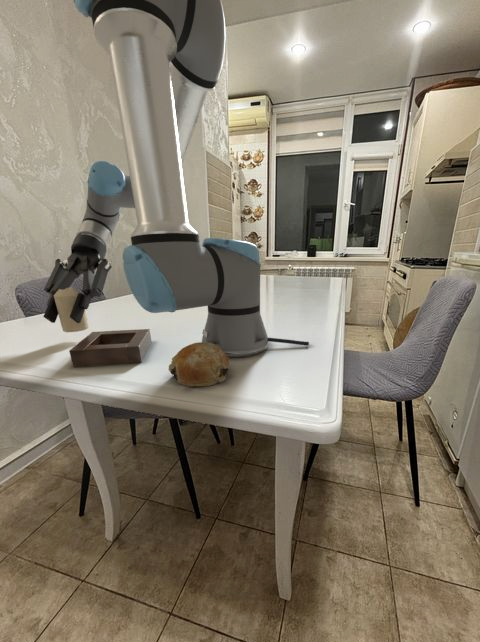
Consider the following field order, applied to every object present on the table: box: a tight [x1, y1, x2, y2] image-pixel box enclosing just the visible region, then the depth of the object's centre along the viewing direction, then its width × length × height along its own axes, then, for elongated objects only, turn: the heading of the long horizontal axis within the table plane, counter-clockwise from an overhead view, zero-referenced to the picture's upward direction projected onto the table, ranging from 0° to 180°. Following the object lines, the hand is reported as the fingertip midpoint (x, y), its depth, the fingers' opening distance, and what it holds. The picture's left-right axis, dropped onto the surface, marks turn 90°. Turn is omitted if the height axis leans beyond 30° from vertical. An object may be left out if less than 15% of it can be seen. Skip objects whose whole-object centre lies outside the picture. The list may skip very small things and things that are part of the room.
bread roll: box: [168, 341, 230, 388], centre depth 52 cm, size 10×10×8 cm
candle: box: [54, 286, 90, 333], centre depth 69 cm, size 6×6×10 cm
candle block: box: [68, 328, 153, 368], centre depth 63 cm, size 13×13×4 cm
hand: (62, 319), depth 67 cm, fingers closed on candle, 5 cm apart
